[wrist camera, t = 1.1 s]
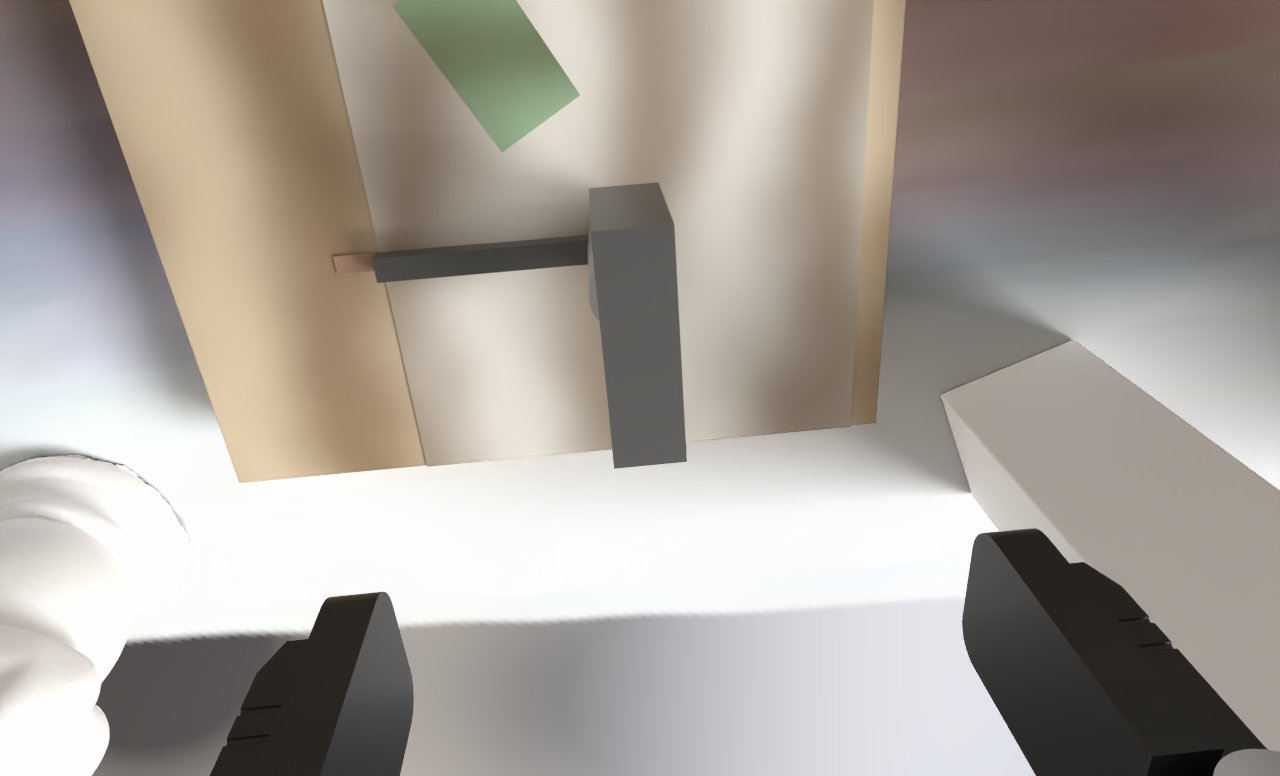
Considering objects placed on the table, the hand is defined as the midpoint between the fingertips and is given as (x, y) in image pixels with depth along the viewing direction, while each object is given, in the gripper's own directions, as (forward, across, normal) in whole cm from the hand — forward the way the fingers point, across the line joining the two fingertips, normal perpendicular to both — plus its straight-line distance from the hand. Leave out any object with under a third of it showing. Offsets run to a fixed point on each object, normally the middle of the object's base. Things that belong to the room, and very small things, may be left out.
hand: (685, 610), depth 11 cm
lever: (+18, +3, 0) cm, 18 cm away
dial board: (+22, +3, -1) cm, 22 cm away
